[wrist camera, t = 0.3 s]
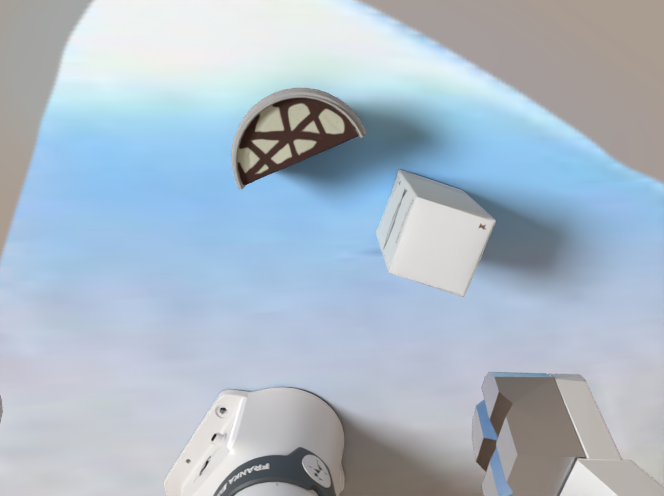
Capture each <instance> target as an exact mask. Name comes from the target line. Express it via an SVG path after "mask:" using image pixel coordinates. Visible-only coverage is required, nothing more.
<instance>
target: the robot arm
mask: <svg viewBox="0 0 664 496" xmlns="http://www.w3.org/2000/svg"><path fill="white" fill-rule="evenodd" d="M481 388H482V392H483V396H484V400H483V401H481V402H480V403H479V404H477V405H476V408H475V412H474V416H473V421H472V442H473V449H474V454H475V459H476V462H477V463H478V464H479V465H480V466H481V467H482V468H483V469H484V470H485V471H486V474H485V477H484V480H483V483H482V490H483V494H484V496H664V487H663V486H662V485H660V484H659V483H658V482H657V481H656V480H654V479H653V478H652V477H651V476H650V475H648V474H647V473H646V472H645V471H644V470H642V469H641V468H640V467H639V466H638V465H636V464H635V463H634V462H633V461H632V460H622V458H621V456H620V454H619V452H618V450H617V447H616V445H615V443H614V441H613V439H612V437H611V434H610V432H609V430H608V428H607V426H606V424H605V421H604V419H603V417H602V415H601V413H600V411H599V408H598V406H597V404H596V402H595V400H594V398H593V395H592V393H591V391H590V389H589V387H588V385H587V382H586V380H585V379H584V378H583V377H582V376H581V375H573V374H546V373H511V372H488V374H487V375H486V376H485V378H484V381H483V384H482V387H481ZM222 407H224V408H226V409H227V410H225V411H223V410H221V409H220V408H222ZM2 413H3V410H2V399H1V396H0V422H1V417H2ZM343 450H344V432H343V428H342V425H341V422H340V420H339V418H338V417H337V415H336V414H335V412H334V411H333V410H332V408H331V407H330V406H329V405H328V404H326V403H325V402H324V401H323V400H321V399H320V398H318V397H317V396H315V395H313V394H311V393H308V392H306V391H303V390H299V389H294V388H286V387H277V388H268V389H264V390H259V391H254V392H247V391H240V390H225V391H223V392H221V393H220V394H219V396H218V397H217V399H216V400H215V402H214V403H213V405H212V406H211V408H210V410H209V411H208V413H207V414H206V416H205V417H204V419H203V420H202V422H201V423H200V425H199V427H198V428H197V430H196V431H195V433H194V434H193V436H192V437H191V439H190V441H189V442H188V444H187V445H186V447H185V448H184V450H183V451H182V453H181V455H180V456H179V458H178V459H177V461H176V462H175V464H174V465H173V467H172V468H171V470H170V472H169V473H168V475H167V476H166V479H165V481H164V489H165V492H166V494H167V496H339V493H340V492H342V491H343V489H344V485H345V476H344V472H343V468H342V465H341V461H342V456H343Z"/></svg>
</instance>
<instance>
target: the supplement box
mask: <svg viewBox="0 0 664 496" xmlns="http://www.w3.org/2000/svg"><path fill="white" fill-rule="evenodd" d="M495 223H496V220H495V219H494V218H493V217H492V216H491V215H490V214H488V213H487V212H486V211H485V210H484V209H483V208H482V207H481V206H480V205H479V204H477V203H476V202H475V201H474V200H473V199H472V198H471V197H470V196H469V195H468V194H466V193H465V192H464V191H463V190H461V189H458V188H455V187H452V186H449V185H446V184H443V183H440V182H437V181H434V180H431V179H428V178H425V177H422V176H419V175H416V174H413V173H410V172H406V171H403V170H398V173H397V176H396V179H395V182H394V186H393V189H392V191H391V194H390V197H389V200H388V203H387V205H386V208H385V211H384V213H383V216H382V219H381V221H380V224H379V226H378V228H377V231H376V235H377V238H378V241H379V245H380V247H381V251H382V253H383V257H384V259H385V262H386V265H387V268H388V272H389V273H390V274H394V275H397V276H401V277H404V278H407V279H410V280H414V281H417V282H420V283H423V284H426V285H429V286H432V287H435V288H438V289H441V290H444V291H447V292H450V293H453V294H456V295H459V296H462V297H463V296H465V294H466V292H467V290H468V288H469V285H470V283H471V280H472V278H473V275H474V273H475V271H476V268H477V266H478V263H479V261H480V259H481V257H482V254H483V251H484V249H485V247H486V244H487V242H488V239H489V237H490V234H491V232H492V230H493V227H494V225H495Z"/></svg>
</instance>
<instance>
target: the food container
mask: <svg viewBox="0 0 664 496" xmlns="http://www.w3.org/2000/svg"><path fill="white" fill-rule="evenodd" d="M366 133H367V131H366V129H365V127H364V125H363V123H362V122H361V120H360V119H359V118H358V116H357V115H356V113H355V112H354V111H353V110H352V109H351V108H350V107H349V106H348V105H346V104H345V103H344V102H342V101H341V100H340V99H338V98H336V97H334V96H332V95H331V94H329V93H326V92H323V91H320V90H316V89H310V88H292V89H286V90H282V91H279V92H276V93H273V94H271V95H269V96H267V97H266V98H264V99H262V100H261V101H260V102H258V103H257V104H256V105H254V106H253V107H252V108H251V110H250V111H249V112H248V113H247V114H246V115H245V117H244V118H243V120H242V121H241V123H240V125H239V127H238V129H237V132H236V134H235V137H234V141H233V145H232V156H231V157H232V169H233V173H234V178H235V181H236V183H237V186H238V188H239V189H241V190H242V189H243V188H244V187H245V185H247V184H249V183H252V182H254V181H255V180H258V179H260V178H262V177H264V176H267V175H269V174H272V173H274V172H276V171H279V170H281V169H283V168H286V167H288V166H291V165H293V164H295V163H298V162H300V161H303V160H305V159H307V158H309V157H311V156H314V155H316V154H318V153H320V152H323V151H325V150H327V149H330V148H332V147H334V146H337V145H339V144H341V143H344V142H346V141H348V140H350V139H353V138H355V137H357V136H359V137H361V138H363V136H365V135H366Z"/></svg>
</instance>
